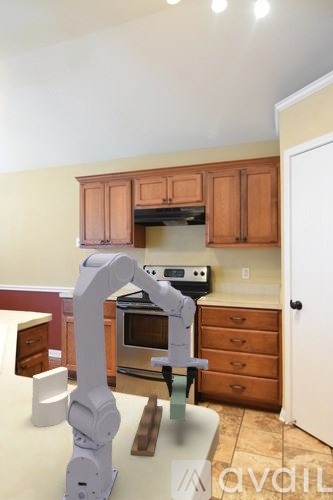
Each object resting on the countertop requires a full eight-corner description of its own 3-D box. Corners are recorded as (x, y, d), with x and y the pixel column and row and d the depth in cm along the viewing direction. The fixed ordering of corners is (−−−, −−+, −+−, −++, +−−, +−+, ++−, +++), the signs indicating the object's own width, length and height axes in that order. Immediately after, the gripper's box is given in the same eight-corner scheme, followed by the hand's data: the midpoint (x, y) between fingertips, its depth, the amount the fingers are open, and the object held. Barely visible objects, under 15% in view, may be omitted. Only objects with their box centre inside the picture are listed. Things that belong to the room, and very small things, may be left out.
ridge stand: (153, 456, 66) (153, 435, 66) (130, 454, 66) (130, 433, 66) (162, 409, 86) (162, 393, 86) (145, 408, 86) (145, 392, 86)
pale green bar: (185, 420, 69) (185, 404, 69) (169, 419, 70) (169, 403, 70) (186, 389, 85) (186, 376, 85) (174, 388, 86) (174, 376, 86)
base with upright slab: (43, 431, 75) (44, 382, 75) (25, 419, 80) (25, 373, 81) (74, 416, 82) (75, 371, 82) (55, 405, 88) (56, 364, 88)
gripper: (207, 339, 81) (207, 390, 81) (153, 337, 82) (152, 388, 82) (208, 346, 74) (208, 403, 74) (149, 344, 75) (149, 400, 75)
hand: (179, 396), depth 77 cm, fingers closed on pale green bar, 3 cm apart
